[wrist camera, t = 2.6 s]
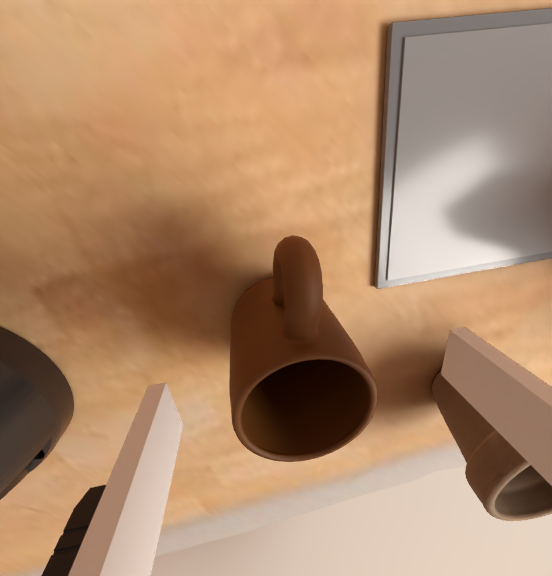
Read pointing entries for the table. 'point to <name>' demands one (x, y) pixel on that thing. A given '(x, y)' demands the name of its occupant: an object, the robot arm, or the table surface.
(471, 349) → the robot arm
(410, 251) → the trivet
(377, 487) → the table surface
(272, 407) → the mug
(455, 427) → the flower pot
